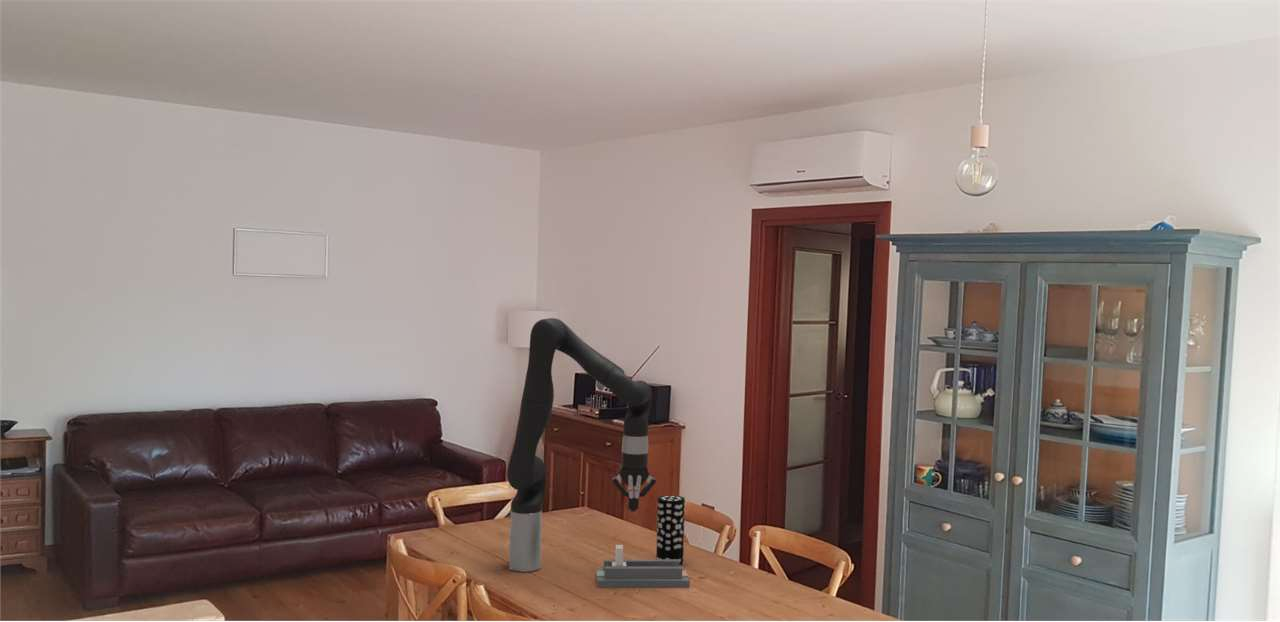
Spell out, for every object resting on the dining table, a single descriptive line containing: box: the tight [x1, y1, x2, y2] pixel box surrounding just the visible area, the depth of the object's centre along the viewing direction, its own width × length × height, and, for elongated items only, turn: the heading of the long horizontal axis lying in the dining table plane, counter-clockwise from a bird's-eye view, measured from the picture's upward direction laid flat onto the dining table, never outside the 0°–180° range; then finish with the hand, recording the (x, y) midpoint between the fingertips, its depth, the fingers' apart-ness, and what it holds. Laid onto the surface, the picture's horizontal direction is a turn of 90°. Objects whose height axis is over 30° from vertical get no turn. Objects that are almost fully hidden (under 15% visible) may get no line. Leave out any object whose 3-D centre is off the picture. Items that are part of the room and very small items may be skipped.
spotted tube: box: [655, 494, 686, 567], centre depth 291 cm, size 8×8×20 cm
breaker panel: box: [595, 558, 691, 589], centre depth 273 cm, size 26×12×5 cm, turn 94°
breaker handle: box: [612, 544, 626, 566], centre depth 272 cm, size 4×4×8 cm
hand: (633, 510), depth 272 cm, fingers closed
